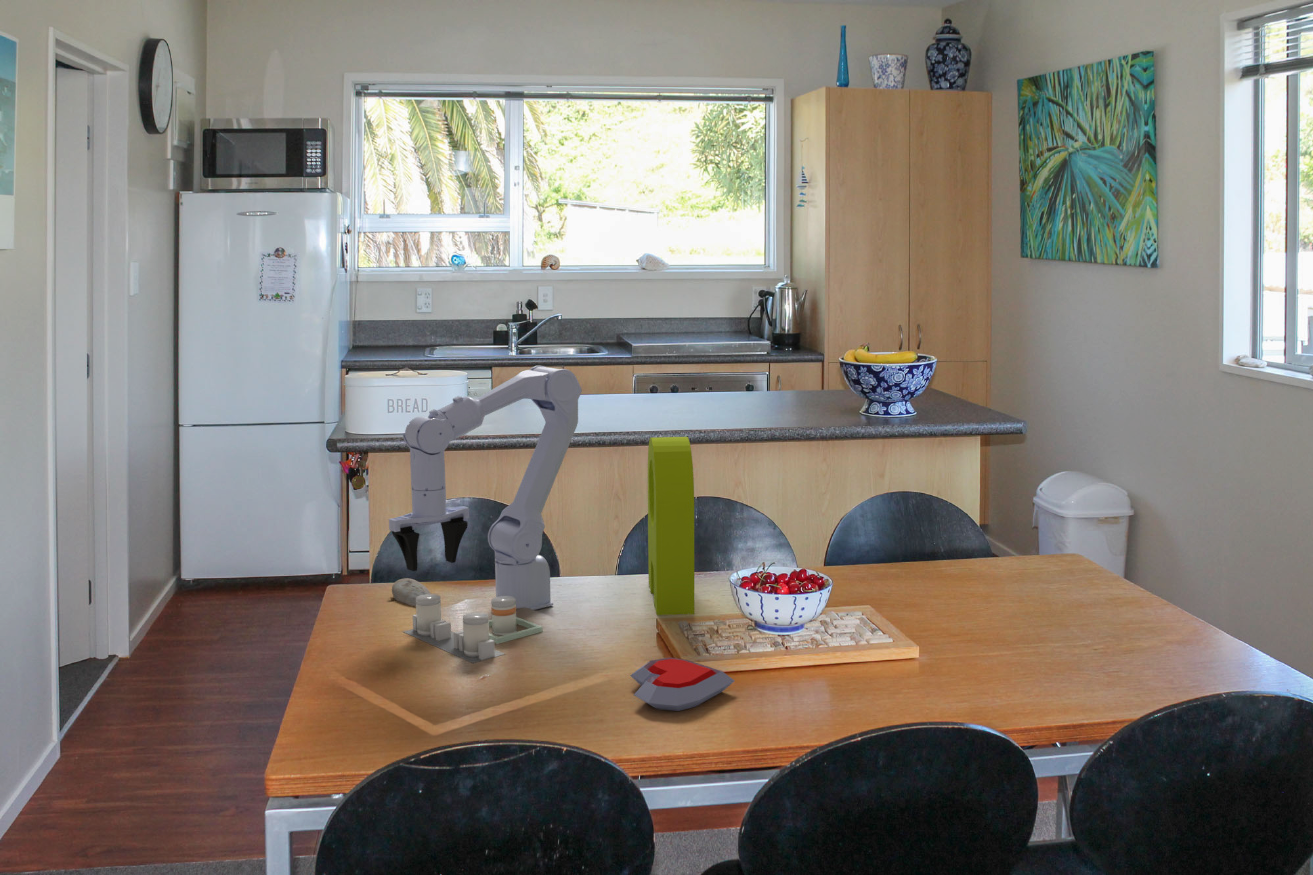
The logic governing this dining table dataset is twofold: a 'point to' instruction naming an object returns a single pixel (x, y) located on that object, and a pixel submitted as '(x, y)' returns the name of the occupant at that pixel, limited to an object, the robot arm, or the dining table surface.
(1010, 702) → the dining table surface
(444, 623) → the fuse holder
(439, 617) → the fuse
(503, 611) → the cylinder
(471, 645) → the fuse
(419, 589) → the decorative stone
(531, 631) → the tray
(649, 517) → the decorative object
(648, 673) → the sculpture
